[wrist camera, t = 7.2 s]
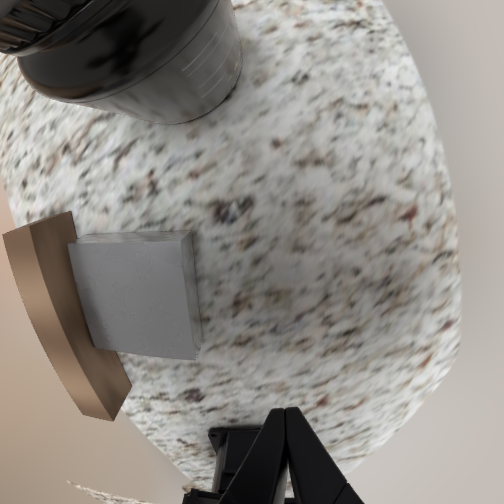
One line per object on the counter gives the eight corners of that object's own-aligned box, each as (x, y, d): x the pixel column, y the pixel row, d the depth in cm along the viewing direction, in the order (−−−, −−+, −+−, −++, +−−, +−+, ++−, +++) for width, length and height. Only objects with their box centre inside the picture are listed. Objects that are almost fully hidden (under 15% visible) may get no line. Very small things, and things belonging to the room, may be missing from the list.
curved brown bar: (132, 386, 19) (113, 421, 15) (103, 383, 19) (83, 414, 16) (70, 210, 15) (28, 226, 11) (42, 219, 15) (2, 234, 11)
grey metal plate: (204, 336, 17) (195, 360, 15) (111, 328, 18) (95, 347, 15) (193, 228, 15) (180, 241, 13) (90, 232, 16) (67, 243, 13)
